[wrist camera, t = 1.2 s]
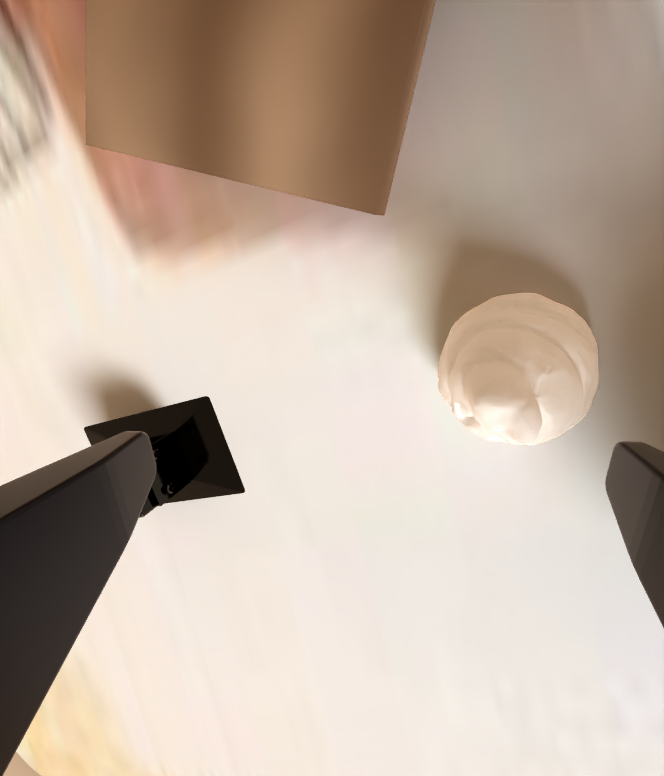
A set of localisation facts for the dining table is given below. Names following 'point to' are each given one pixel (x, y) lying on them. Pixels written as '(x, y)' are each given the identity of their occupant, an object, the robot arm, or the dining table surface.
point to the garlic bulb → (519, 369)
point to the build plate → (180, 451)
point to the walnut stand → (259, 89)
